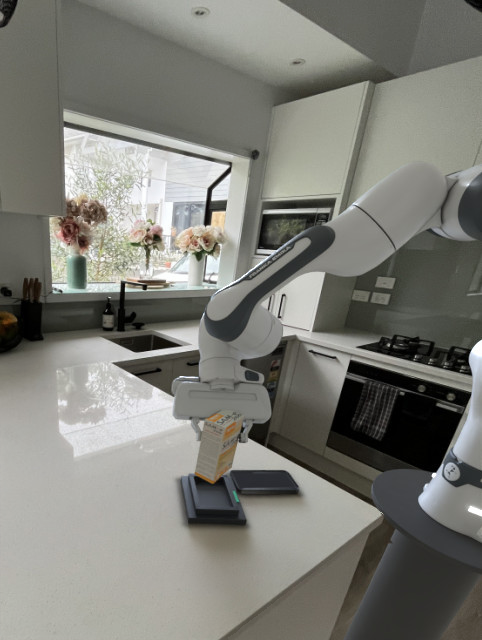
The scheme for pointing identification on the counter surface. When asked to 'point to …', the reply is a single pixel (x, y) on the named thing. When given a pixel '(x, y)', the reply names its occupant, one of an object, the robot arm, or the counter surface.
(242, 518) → the charging dock
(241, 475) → the phone
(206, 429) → the supplement box
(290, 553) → the counter surface
